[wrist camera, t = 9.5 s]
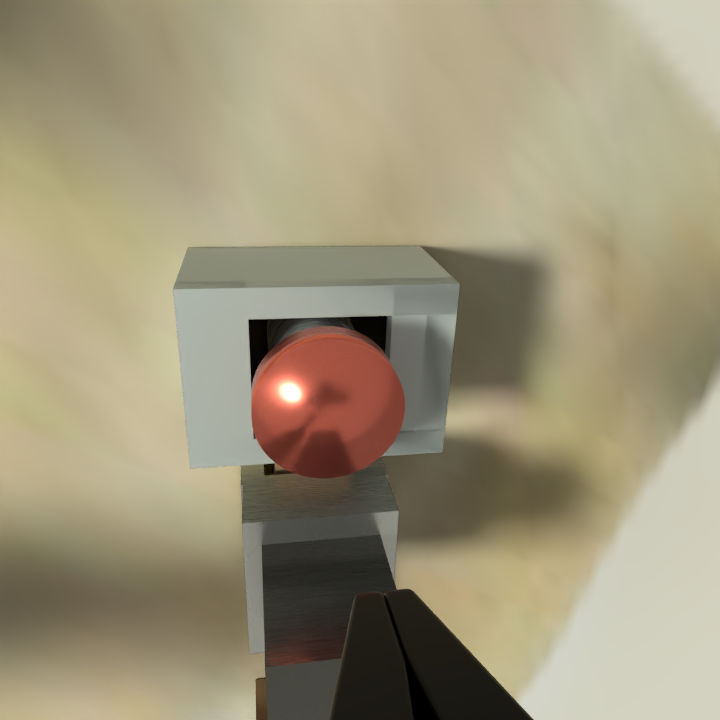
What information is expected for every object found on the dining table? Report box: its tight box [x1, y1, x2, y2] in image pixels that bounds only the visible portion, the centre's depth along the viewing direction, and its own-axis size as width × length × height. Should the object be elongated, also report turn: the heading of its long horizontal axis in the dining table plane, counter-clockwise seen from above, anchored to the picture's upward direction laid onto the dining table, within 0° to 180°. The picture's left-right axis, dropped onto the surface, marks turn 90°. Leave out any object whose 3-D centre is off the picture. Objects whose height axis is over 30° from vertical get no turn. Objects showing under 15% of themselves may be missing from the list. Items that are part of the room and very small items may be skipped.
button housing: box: [173, 246, 460, 469], centre depth 18 cm, size 5×7×4 cm
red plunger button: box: [251, 317, 405, 478], centre depth 17 cm, size 4×4×5 cm
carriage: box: [241, 457, 399, 720], centre depth 18 cm, size 5×4×8 cm
